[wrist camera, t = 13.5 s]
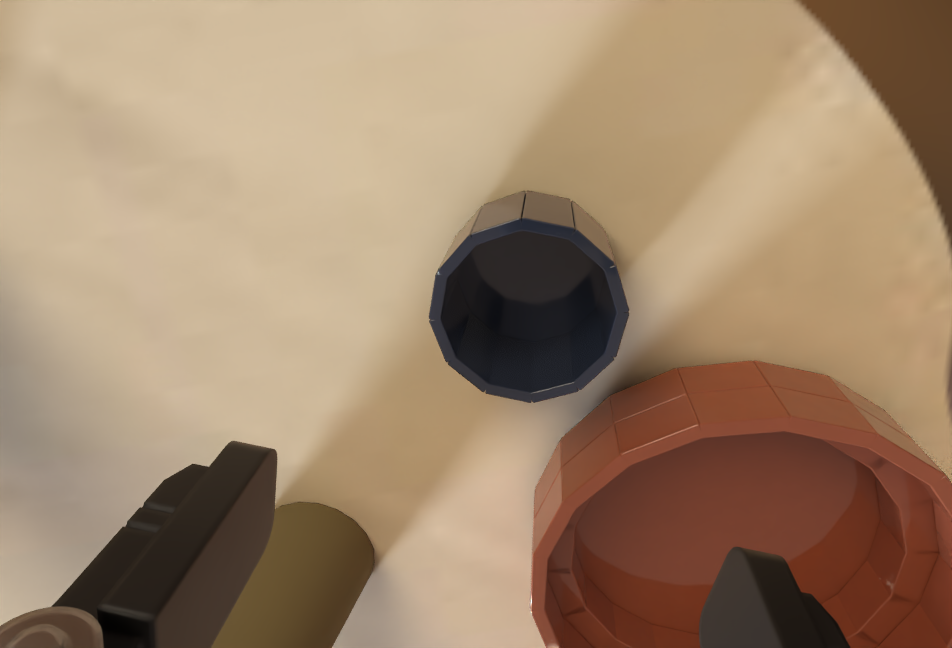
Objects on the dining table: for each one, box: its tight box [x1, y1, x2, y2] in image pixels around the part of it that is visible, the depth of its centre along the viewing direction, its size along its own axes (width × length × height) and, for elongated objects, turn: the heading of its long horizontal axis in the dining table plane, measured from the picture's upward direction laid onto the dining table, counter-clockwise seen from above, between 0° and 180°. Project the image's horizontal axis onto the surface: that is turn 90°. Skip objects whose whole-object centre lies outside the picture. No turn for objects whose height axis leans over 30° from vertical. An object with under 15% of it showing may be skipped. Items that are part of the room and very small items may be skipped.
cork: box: [211, 502, 374, 648], centre depth 26 cm, size 6×6×11 cm
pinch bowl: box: [429, 191, 629, 403], centre depth 22 cm, size 6×6×5 cm
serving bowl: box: [530, 361, 952, 648], centre depth 25 cm, size 16×16×5 cm
